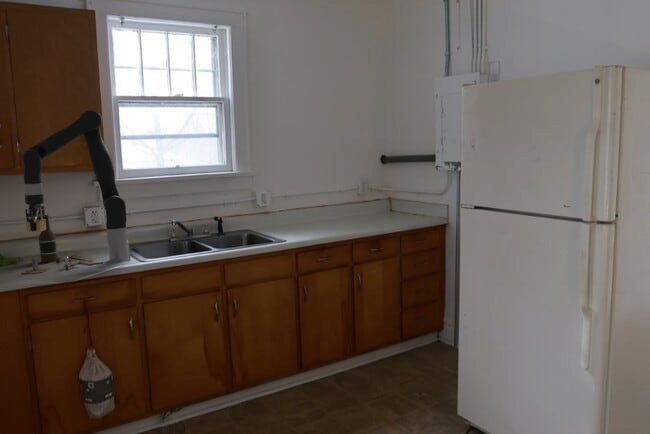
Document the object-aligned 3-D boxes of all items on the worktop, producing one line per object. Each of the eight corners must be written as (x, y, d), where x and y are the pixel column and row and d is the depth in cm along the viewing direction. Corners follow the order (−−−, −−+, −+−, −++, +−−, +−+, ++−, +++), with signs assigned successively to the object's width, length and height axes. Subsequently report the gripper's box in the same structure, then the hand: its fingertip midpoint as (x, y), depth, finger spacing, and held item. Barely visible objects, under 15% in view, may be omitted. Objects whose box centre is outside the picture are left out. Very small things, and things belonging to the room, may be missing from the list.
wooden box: (29, 271, 253) (27, 257, 252) (49, 270, 254) (48, 256, 253) (21, 276, 244) (20, 261, 243) (42, 274, 245) (41, 260, 244)
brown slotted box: (32, 229, 249) (32, 219, 248) (46, 229, 249) (45, 219, 249) (26, 231, 243) (26, 220, 242) (40, 231, 243) (39, 220, 243)
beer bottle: (38, 261, 275) (33, 215, 272) (54, 258, 280) (50, 213, 277) (43, 263, 269) (38, 216, 266) (60, 261, 275) (55, 214, 271)
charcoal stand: (68, 268, 257) (66, 255, 256) (79, 269, 254) (77, 255, 253) (56, 271, 250) (54, 258, 249) (67, 272, 248) (66, 259, 247)
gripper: (35, 194, 237) (38, 232, 239) (49, 192, 251) (51, 227, 254) (17, 195, 237) (20, 232, 239) (32, 192, 251) (35, 227, 253)
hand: (36, 229), depth 246 cm, fingers closed on brown slotted box, 6 cm apart
